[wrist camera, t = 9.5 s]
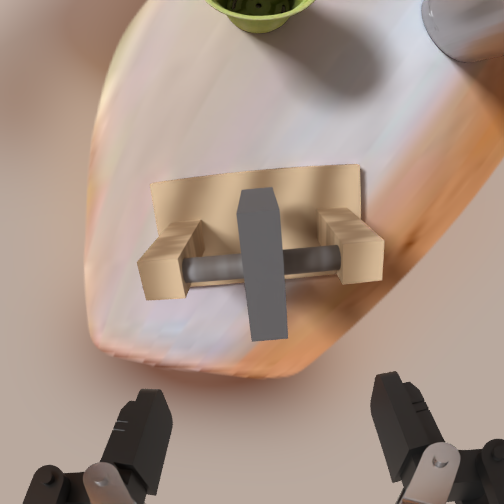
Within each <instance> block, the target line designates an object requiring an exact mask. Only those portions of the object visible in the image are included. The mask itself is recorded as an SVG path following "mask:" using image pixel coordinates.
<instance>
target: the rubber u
mask: <svg viewBox="0 0 504 504" xmlns="http://www.w3.org/2000/svg"><path fill="white" fill-rule="evenodd" d="M236 215H237V224H238V232H239V241H240V249H241V258H242V266H243V274H244V282H245V290H246V298H247V307H248V315H249V323H250V330H251V338H252V341H265V340H277V339H287V338H288V328H287V310H286V293H285V277H284V262H283V247H282V234H281V220H280V209H279V206H278V203H277V200H276V197H275V194H274V191H273V188H272V187H266V188H255V189H245V190H242V191H241V195H240V199H239V204H238V208H237V213H236Z"/></svg>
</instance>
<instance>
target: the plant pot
mask: <svg viewBox="0 0 504 504" xmlns="http://www.w3.org/2000/svg"><path fill="white" fill-rule="evenodd" d="M205 1H206V2H207V3H208V4H209V5H210V6H212V7H213V8H214V9H216V10H218V11H219V12H221V13H223V14H226V15H227V16H228V18H229V19H230V20H231V22H232V23H233V24H234V25H236V26H237V27H238V28H240V29H242V30H244V31H247V32H251V33H267V32H270V31H273V30H275V29H277V28H279V27H280V26H282V25H283V24H284V23H285V22H286V21H287V20H288V18H289V17H290V16H292V15H295V14H297V13H299V12H301V11H303V10H304V9H306V8H307V7H309V6H310V5H311V4H312V3H313V2H314V1H315V0H237V2H236V5H235V9H232V5H233V3H232V2H233V0H205ZM258 3H259V4H261V7H260V8H258V7H256V4H258ZM282 5H284V6H285V13H282V14H281V11H282Z"/></svg>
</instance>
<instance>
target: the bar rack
mask: <svg viewBox="0 0 504 504" xmlns="http://www.w3.org/2000/svg"><path fill="white" fill-rule="evenodd" d="M266 187H272V188H273V191H274V194H275V197H276V200H277V203H278V206H279V209H280V220H281V234H282V247H283V262H284V277H285V279H291V278H302V277H312V276H323V275H333V274H337V275H338V277H339V279H340V281H341V283H342V285H345V284H354V283H363V282H371V281H379V280H382V273H383V258H384V240H383V239H382V238H381V237H380V236H379V235H378V234H377V233H376V232H374V231H373V230H372V229H371V228H370V227H369V226H368V225H367V224H365V223H364V222H363V221H362V220H361V188H360V165H358V164H345V165H324V166H306V167H292V168H278V169H266V170H255V171H245V172H235V173H225V174H217V175H208V176H200V177H192V178H184V179H177V180H170V181H163V182H156V183H152V184H150V189H151V195H152V201H153V207H154V213H155V218H156V224H157V229H158V235H159V237H158V238H157V239H156V240H155V242H154V243H153V244H152V245H151V246H150V247H149V249H148V250H147V251H146V252H145V253H144V254H143V256H142V257H141V258H140V259H139V260H138V262H137V265H138V269H139V273H140V277H141V281H142V285H143V289H144V293H145V297H146V300H163V299H181V298H186V296H187V293H188V291H189V288H190V287H194V286H207V285H221V284H233V283H245V282H244V274H243V266H242V258H241V249H240V241H239V232H238V224H237V215H236V213H237V208H238V204H239V199H240V195H241V191H242V190H245V189H255V188H266Z"/></svg>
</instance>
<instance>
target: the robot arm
mask: <svg viewBox="0 0 504 504" xmlns="http://www.w3.org/2000/svg"><path fill="white" fill-rule="evenodd" d="M421 12H422V19H423V22H424V25H425V27H426V30H427V32H428V34H429V35H430V37H431V38H432V40H433V41H434V42H435V44H436V45H437V46H438V47H439V48H440V49H441V50H442V51H443V52H444V53H445V54H447V55H448V56H450V57H451V58H453V59H455V60H458V61H461V62H474V61H479V60H484V59H489V58H495V57H500V56H504V0H424V1H423V3H422V9H421ZM370 407H371V415H372V418H373V421H374V424H375V427H376V430H377V433H378V436H379V440H380V443H381V446H382V449H383V453H384V456H385V459H386V462H387V466H388V469H389V472H390V476H391V479H392V482H393V483H394V482H398V481H401V480H402V483H403V486H404V488H403V489H402V491H401V493H400V495H399V497H398V499H397V501H396V503H395V504H446V502H451V501H455V503H456V504H504V440H503V439H494V440H491V441H489V442H488V443H486V445H485V446H484V447H483V449H476V450H457V448H456V447H455V446H453V445H451V444H449V443H445V441H444V439H443V437H442V435H441V433H440V431H439V429H438V427H437V425H436V423H435V421H434V419H433V416H432V414H431V412H430V410H428V407H427V404H426V402H424V398H423V396H422V394H421V392H420V390H419V389H418V388H417V387H415V386H414V385H413V384H412V383H411V382H406V383H402V381H401V379H400V377H399V375H398V373H397V372H396V371H394V372H389V373H383V374H378V375H376V377H375V382H374V387H373V392H372V397H371V405H370ZM172 423H173V422H172V415H171V412H170V410H169V408H168V405H167V402H166V400H165V398H164V395H163V393H162V391H161V390H159V389H141V390H140V391H139V394H138V396H137V399H136V401H129V402H128V403H127V404H126V405H125V406H124V407H123V408H122V409H121V411H120V413H119V416H118V419H117V422H116V423H115V426H114V430H112V433H111V435H110V438H109V441H108V443H107V446H106V448H105V451H104V453H103V456H102V458H101V460H100V462H99V463H95V464H93V465H91V466H90V467H88V468H87V470H86V471H85V472H80V473H63V472H62V471H61V470H60V469H59V468H58V467H56V466H53V465H46V466H43V467H41V468H39V469H38V470H37V471H36V472H35V474H34V476H33V479H32V481H31V484H30V486H29V489H28V491H27V494H26V496H25V499H24V501H23V504H145V502H144V501H145V497H146V494H148V495H156V494H157V489H158V484H159V481H160V476H161V472H162V468H163V464H164V460H165V455H166V451H167V447H168V443H169V439H170V435H171V431H172V425H173V424H172Z"/></svg>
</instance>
